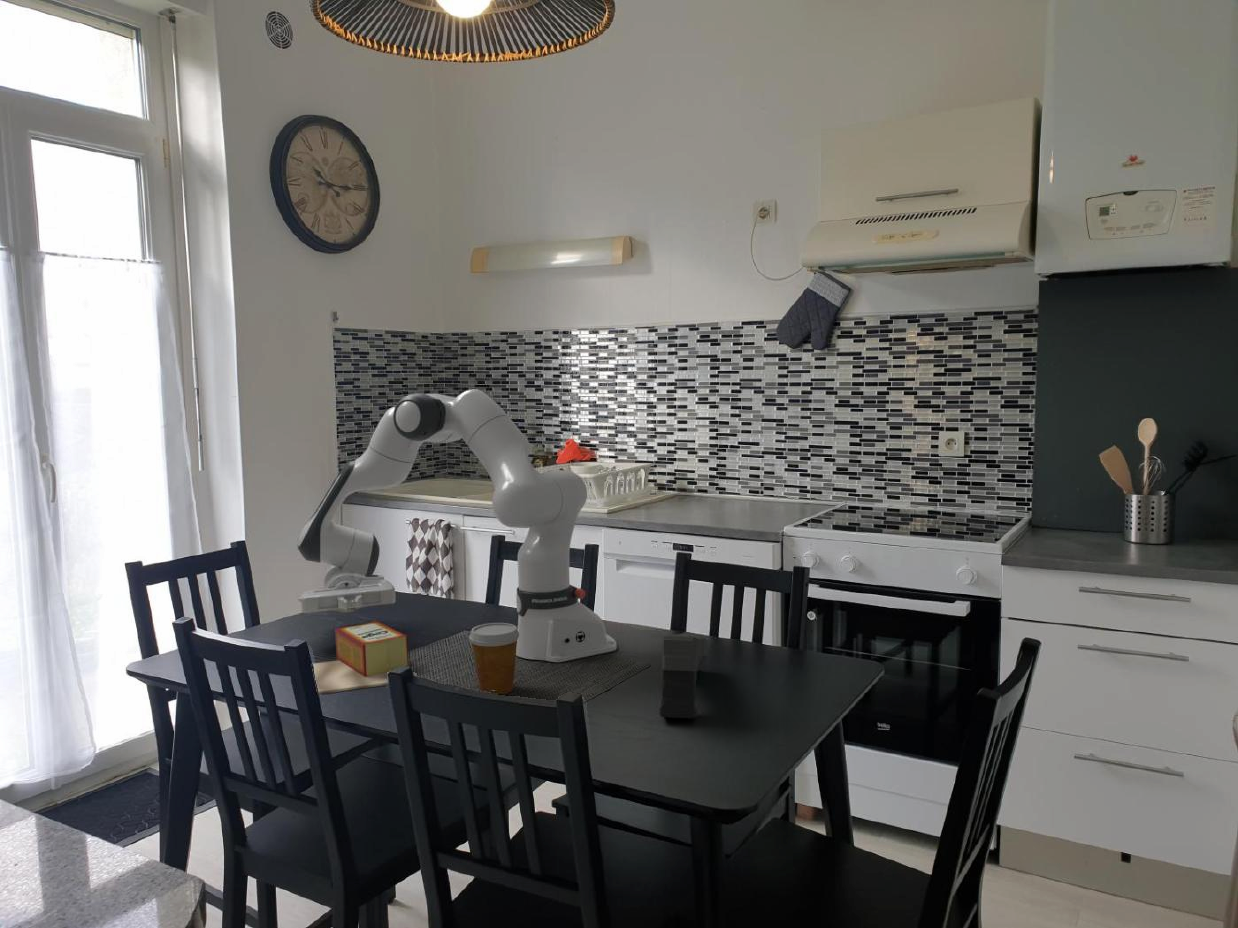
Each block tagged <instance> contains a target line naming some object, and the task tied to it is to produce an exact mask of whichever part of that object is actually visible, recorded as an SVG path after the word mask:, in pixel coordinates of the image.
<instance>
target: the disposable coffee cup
mask: <svg viewBox="0 0 1238 928" xmlns="http://www.w3.org/2000/svg"><path fill="white" fill-rule="evenodd" d="M517 629H518V626H516V625H514V624H512V623H507V622H490V623H489V622H488V623H482V624H479V625H476V626H474V627H472V629H471V631H470V635H469V636H468V639H469V640H470V643H471V645H472V651H473V658H474V663H475V670H476V674H477V675H476V676H477V682H478V687H479V691H480V690H481V691H487V692H491V693H497V694H502V695H506V694H508V693H510V692H512V691H513V690H514V680H515V669H516V665H515V664H516V657H517V655H516V647H517V640H518V637H519V632H518V631H517ZM491 690H495V691H491Z"/></svg>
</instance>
